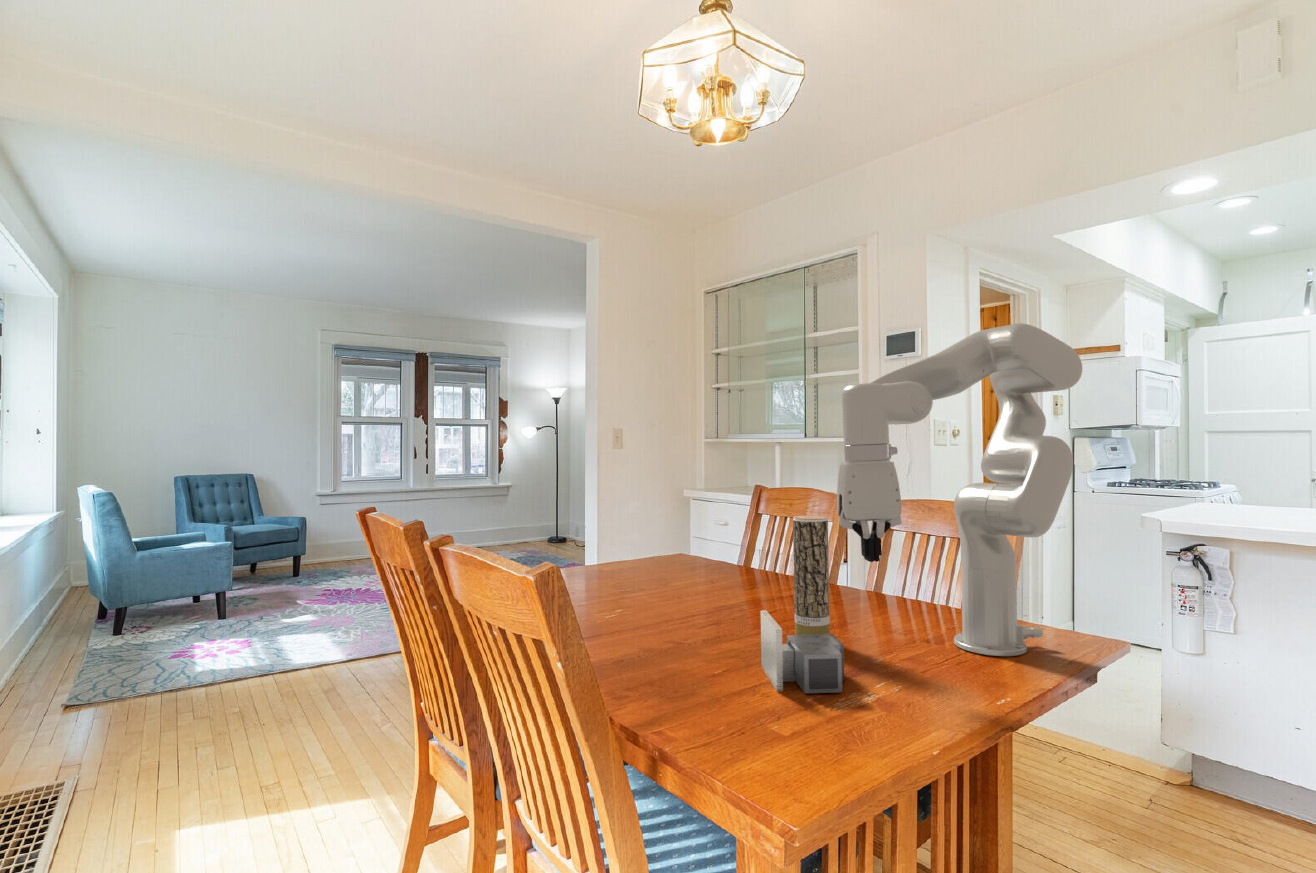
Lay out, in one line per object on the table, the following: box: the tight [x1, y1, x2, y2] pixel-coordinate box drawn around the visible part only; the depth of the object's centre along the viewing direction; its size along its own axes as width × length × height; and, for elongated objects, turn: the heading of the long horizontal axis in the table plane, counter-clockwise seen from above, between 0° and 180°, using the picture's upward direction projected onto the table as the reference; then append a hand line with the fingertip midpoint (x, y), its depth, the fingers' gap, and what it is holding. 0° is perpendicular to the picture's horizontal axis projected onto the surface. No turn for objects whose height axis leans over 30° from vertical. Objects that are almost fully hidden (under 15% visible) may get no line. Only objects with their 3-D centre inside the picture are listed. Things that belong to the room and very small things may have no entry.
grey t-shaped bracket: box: [760, 609, 796, 692], centre depth 112 cm, size 11×12×10 cm
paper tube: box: [792, 515, 831, 635], centre depth 131 cm, size 7×7×25 cm
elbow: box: [786, 633, 845, 694], centre depth 109 cm, size 8×11×6 cm
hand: (871, 560), depth 114 cm, fingers closed
